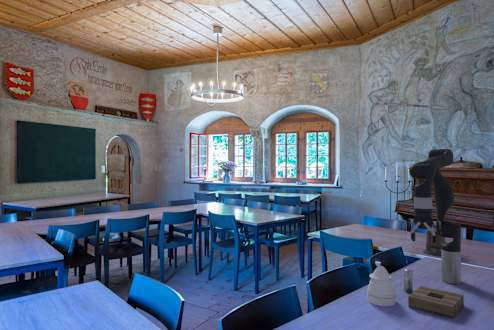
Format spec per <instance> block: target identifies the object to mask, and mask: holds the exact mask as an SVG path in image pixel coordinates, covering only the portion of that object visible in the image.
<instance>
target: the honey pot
mask: <svg viewBox="0 0 494 330" xmlns="http://www.w3.org/2000/svg"><path fill="white" fill-rule="evenodd" d="M381 263H382V262H381V261H374V264H375V265H376V268H375V269H374V270H373V273H370V274H369V278H370V280H369V282H368V283H369V284H368V286H367V287H366V292H367V293H366V295H367V296H366V297H367V299H366V300H367V301H368V302H369V303H370V304H372V305H374V306H381V307H392V306H395V305H396V304H397V291H396V289H395V286H394V283H393V280H392V278H393V277H392V275H390V274H389V272H388V271H387V269H386V268H385V267H384V266H383V265H381Z"/></svg>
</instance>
